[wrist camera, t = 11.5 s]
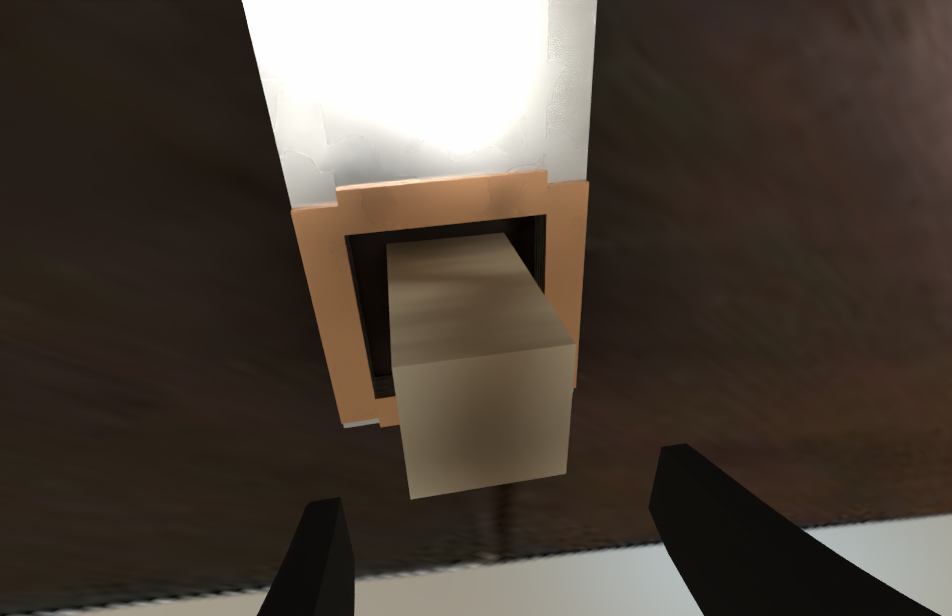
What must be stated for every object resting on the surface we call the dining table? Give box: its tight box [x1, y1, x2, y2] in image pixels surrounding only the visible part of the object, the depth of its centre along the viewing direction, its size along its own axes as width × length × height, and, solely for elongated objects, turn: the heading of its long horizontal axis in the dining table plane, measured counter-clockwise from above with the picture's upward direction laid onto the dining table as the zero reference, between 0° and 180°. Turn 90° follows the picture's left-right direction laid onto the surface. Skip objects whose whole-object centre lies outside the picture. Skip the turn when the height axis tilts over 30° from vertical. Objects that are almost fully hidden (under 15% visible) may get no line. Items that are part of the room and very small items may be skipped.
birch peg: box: [386, 233, 576, 499], centre depth 16 cm, size 4×4×8 cm
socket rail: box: [242, 0, 597, 428], centre depth 16 cm, size 10×24×2 cm, turn 3°
